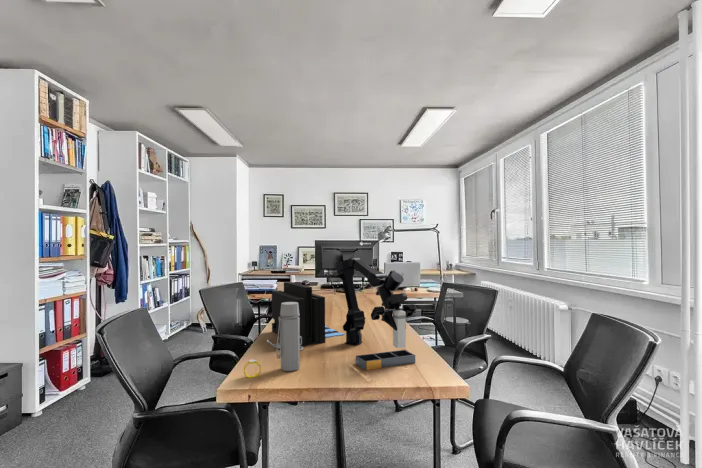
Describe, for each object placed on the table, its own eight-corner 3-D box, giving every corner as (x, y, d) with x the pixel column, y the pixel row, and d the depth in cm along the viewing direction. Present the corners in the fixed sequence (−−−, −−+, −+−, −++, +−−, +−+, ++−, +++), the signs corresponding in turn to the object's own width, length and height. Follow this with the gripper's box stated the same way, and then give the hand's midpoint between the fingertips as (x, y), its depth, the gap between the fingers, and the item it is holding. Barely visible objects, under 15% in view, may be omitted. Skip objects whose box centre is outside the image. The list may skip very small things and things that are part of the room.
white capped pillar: (392, 345, 155) (392, 310, 156) (400, 344, 157) (400, 310, 157) (397, 348, 152) (397, 312, 152) (405, 347, 153) (405, 311, 153)
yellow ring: (260, 375, 141) (261, 359, 141) (260, 378, 138) (261, 361, 139) (243, 376, 139) (244, 359, 140) (243, 378, 137) (244, 361, 137)
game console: (271, 332, 208) (271, 282, 208) (322, 325, 223) (322, 279, 223) (297, 347, 177) (296, 289, 178) (353, 338, 193) (353, 284, 193)
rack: (364, 371, 143) (364, 362, 144) (355, 364, 151) (355, 355, 152) (415, 364, 151) (415, 355, 152) (405, 358, 159) (404, 349, 160)
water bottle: (294, 364, 152) (294, 301, 153) (303, 370, 146) (303, 303, 146) (272, 368, 147) (272, 303, 148) (280, 374, 141) (280, 306, 141)
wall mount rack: (308, 347, 176) (307, 334, 176) (290, 357, 164) (289, 343, 163) (280, 343, 183) (279, 331, 183) (261, 352, 171) (260, 339, 170)
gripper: (373, 286, 155) (386, 319, 144) (414, 284, 162) (429, 316, 151) (365, 303, 162) (377, 336, 151) (404, 300, 169) (418, 331, 158)
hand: (400, 329), depth 153 cm, fingers closed on white capped pillar, 3 cm apart
